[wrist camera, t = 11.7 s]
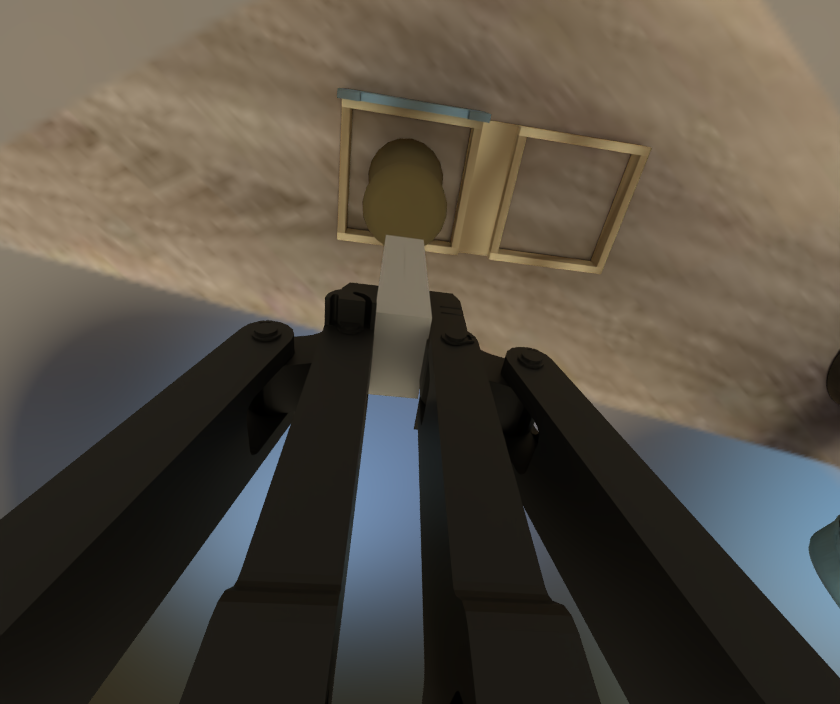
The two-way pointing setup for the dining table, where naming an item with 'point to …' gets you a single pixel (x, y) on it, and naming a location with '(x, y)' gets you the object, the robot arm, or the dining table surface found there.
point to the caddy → (486, 179)
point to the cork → (405, 192)
